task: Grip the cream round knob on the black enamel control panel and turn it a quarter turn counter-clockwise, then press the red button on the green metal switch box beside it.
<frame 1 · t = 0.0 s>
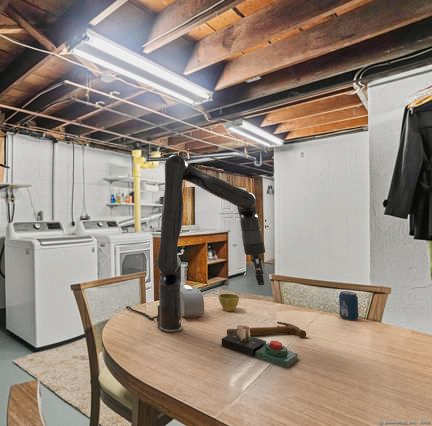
hand: (260, 282, 119), 22 cm above the table, tool pointing down, fingers open, 8 cm apart
hammer: (262, 334, 125), on the table
dial: (243, 333, 112), point 5 cm above the table, hinge at 0.0°
flower pot: (228, 310, 157), on the table
button: (276, 345, 103), point 5 cm above the table, slide at 0.2 cm
soda can: (348, 319, 141), on the table
panel: (243, 347, 112), on the table
switchbox: (276, 358, 103), on the table
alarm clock: (189, 313, 152), on the table
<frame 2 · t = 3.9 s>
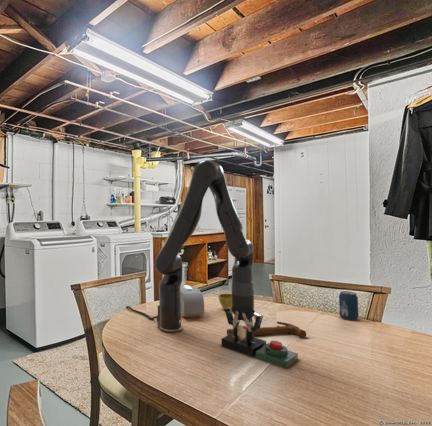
hand: (243, 338, 112), 3 cm above the table, tool pointing down, fingers closed on dial, 4 cm apart
dial: (243, 333, 112), point 5 cm above the table, hinge at 0.1°, touching gripper
everything else where it was.
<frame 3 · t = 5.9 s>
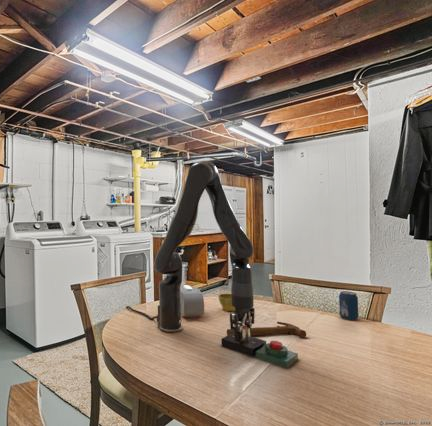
hand: (243, 338, 112), 3 cm above the table, tool pointing down, fingers open, 6 cm apart
dial: (243, 333, 112), point 5 cm above the table, hinge at 92.6°
everything else where it was.
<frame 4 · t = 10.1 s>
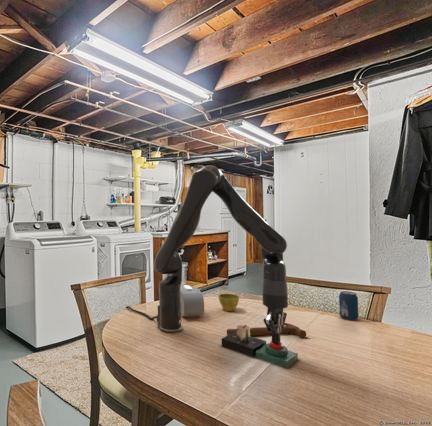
hand: (276, 343, 103), 5 cm above the table, tool pointing down, fingers closed
button: (276, 345, 103), point 4 cm above the table, slide at 0.1 cm, touching gripper
everything else where it was.
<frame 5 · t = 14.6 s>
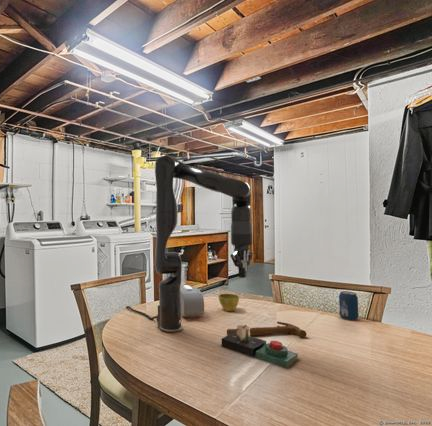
hand: (242, 277, 118), 25 cm above the table, tool pointing down, fingers closed
button: (276, 345, 103), point 5 cm above the table, slide at 0.2 cm
everything else where it was.
at the end: dial at +93° (first picture: +0°); button pushed in 1.1 cm at the most during the clip, back to 0.2 cm at the end; button slide at 0.2 cm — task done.
